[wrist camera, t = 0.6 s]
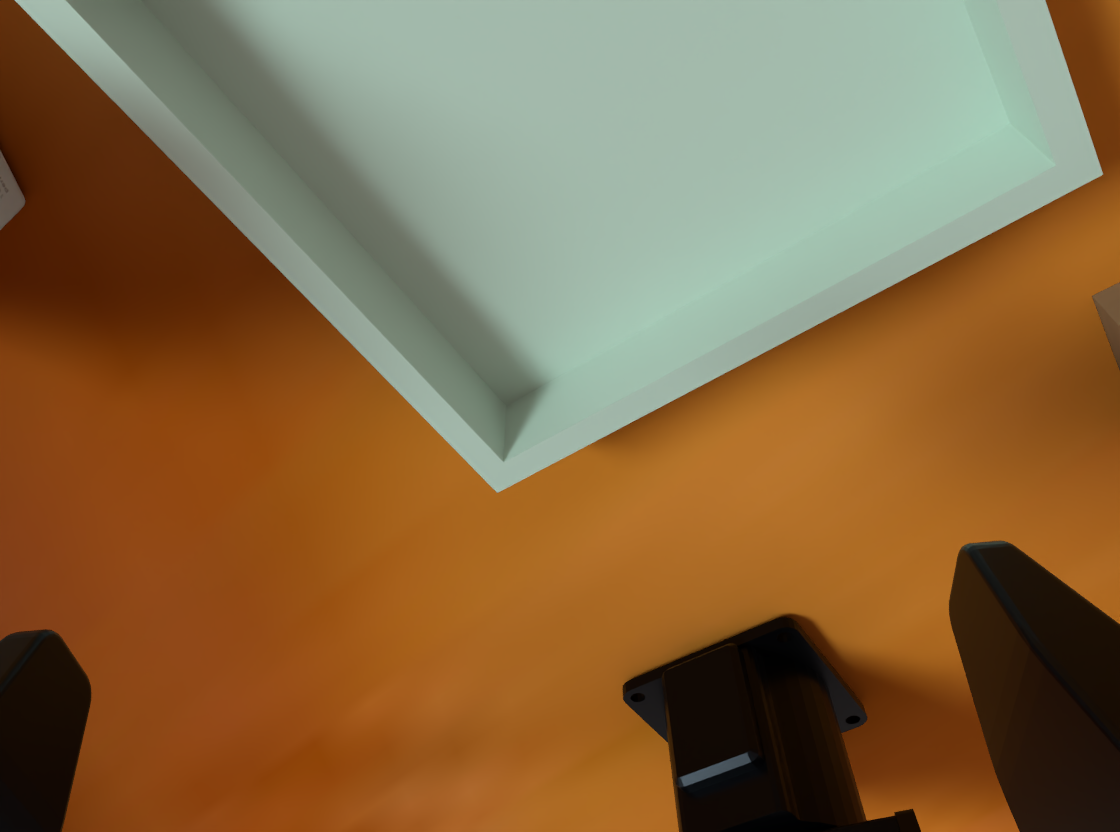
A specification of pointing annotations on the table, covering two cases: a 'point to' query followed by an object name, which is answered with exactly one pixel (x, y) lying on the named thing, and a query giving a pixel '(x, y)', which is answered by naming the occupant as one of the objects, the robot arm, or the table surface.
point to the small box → (8, 194)
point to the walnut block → (1110, 316)
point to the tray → (590, 175)
